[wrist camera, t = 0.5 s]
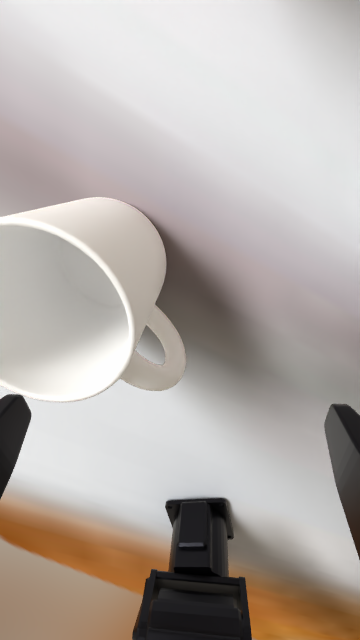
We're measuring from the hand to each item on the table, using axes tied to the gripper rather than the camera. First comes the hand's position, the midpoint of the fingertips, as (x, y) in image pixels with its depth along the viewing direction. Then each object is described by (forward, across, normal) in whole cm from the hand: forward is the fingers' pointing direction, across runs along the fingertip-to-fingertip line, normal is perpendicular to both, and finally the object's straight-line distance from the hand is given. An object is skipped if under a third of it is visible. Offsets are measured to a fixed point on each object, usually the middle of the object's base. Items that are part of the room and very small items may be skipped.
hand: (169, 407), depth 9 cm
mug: (+14, +5, +3) cm, 15 cm away
